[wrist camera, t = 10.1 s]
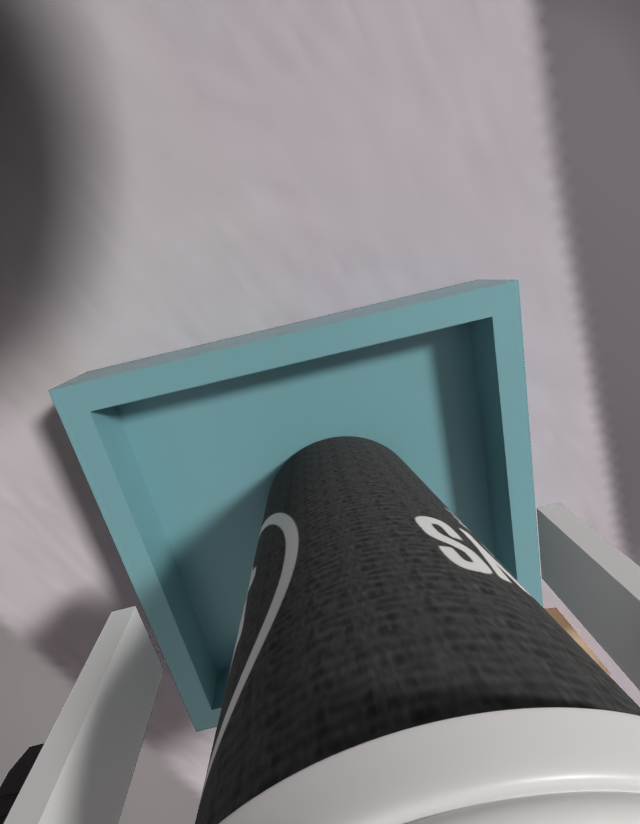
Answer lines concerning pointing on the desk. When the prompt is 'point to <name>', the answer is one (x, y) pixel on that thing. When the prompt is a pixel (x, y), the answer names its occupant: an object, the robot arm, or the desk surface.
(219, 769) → the coffee cup
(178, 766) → the desk surface
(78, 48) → the desk surface
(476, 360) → the tray
